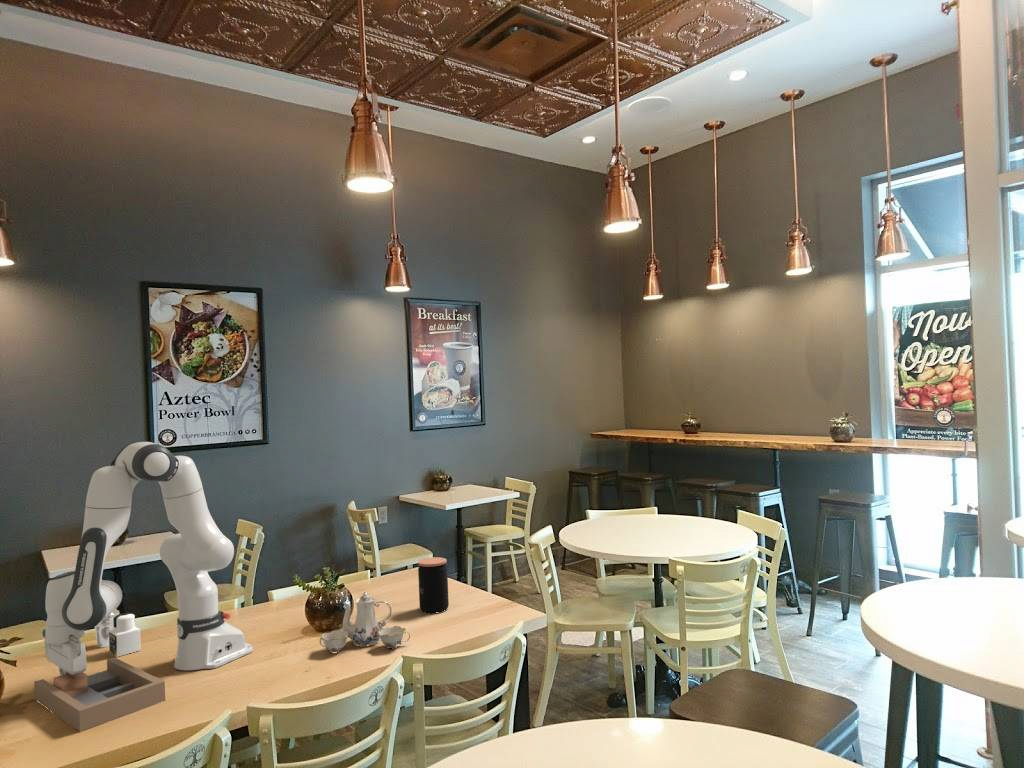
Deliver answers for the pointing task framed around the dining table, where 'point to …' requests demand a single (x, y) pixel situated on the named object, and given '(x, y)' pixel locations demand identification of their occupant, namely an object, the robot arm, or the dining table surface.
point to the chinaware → (364, 628)
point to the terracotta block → (72, 683)
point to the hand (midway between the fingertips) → (66, 682)
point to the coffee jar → (433, 584)
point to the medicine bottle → (124, 635)
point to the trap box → (103, 695)
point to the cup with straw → (105, 629)
